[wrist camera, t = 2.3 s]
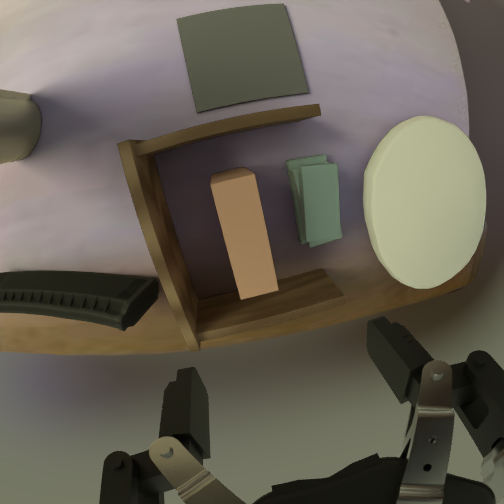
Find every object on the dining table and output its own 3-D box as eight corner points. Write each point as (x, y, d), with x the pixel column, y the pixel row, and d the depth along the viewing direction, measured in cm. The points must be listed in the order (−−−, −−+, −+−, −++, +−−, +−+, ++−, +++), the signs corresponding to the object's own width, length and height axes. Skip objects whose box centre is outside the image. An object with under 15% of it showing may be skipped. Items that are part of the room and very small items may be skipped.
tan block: (211, 174, 33) (210, 184, 24) (243, 166, 33) (254, 174, 24) (234, 261, 38) (240, 299, 29) (262, 254, 38) (278, 290, 29)
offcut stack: (283, 160, 34) (293, 162, 29) (323, 154, 34) (338, 155, 30) (297, 240, 38) (308, 253, 34) (333, 232, 38) (348, 243, 34)
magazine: (166, 308, 29) (-46, 324, 17) (168, 332, 30) (-36, 345, 18) (151, 253, 44) (-5, 269, 31) (152, 271, 45) (0, 286, 33)
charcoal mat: (176, 20, 25) (176, 19, 24) (282, 4, 25) (283, 3, 25) (197, 112, 30) (196, 112, 30) (307, 93, 31) (308, 92, 30)
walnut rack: (141, 143, 31) (117, 143, 22) (295, 107, 31) (321, 96, 23) (194, 311, 40) (190, 352, 31) (323, 279, 41) (347, 311, 32)
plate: (338, 167, 30) (459, 90, 27) (321, 168, 36) (435, 96, 34) (415, 328, 38) (506, 236, 35) (396, 310, 44) (485, 228, 41)
